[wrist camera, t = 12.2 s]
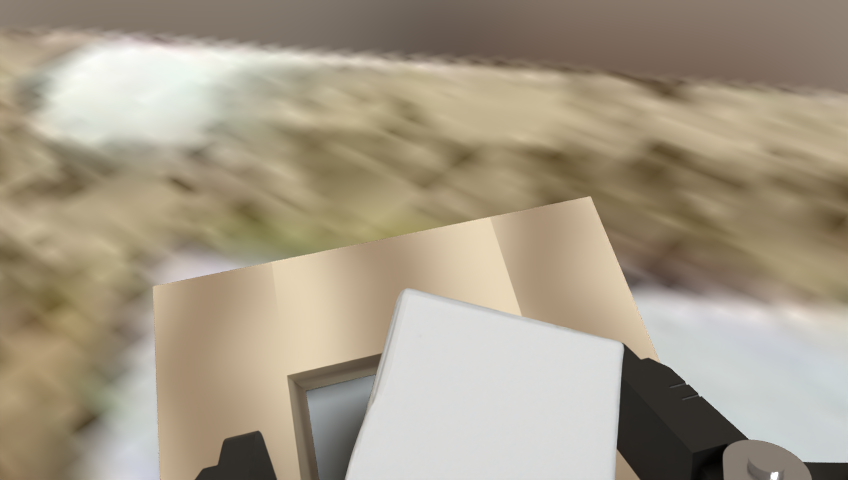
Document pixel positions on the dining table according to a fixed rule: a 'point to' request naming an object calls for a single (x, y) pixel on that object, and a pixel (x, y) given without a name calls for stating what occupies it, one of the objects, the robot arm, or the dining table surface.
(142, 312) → the dining table surface
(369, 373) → the socket block
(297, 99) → the dining table surface
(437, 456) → the skincare box
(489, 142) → the dining table surface
